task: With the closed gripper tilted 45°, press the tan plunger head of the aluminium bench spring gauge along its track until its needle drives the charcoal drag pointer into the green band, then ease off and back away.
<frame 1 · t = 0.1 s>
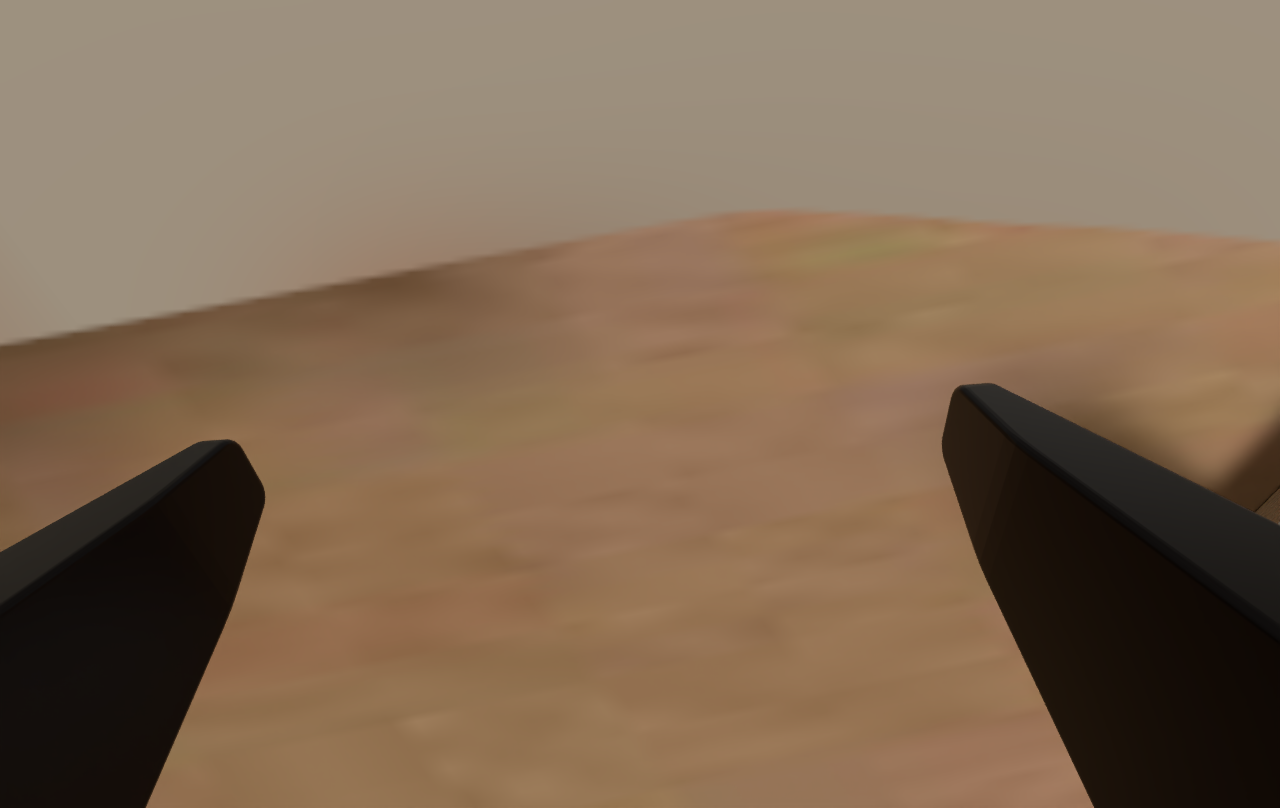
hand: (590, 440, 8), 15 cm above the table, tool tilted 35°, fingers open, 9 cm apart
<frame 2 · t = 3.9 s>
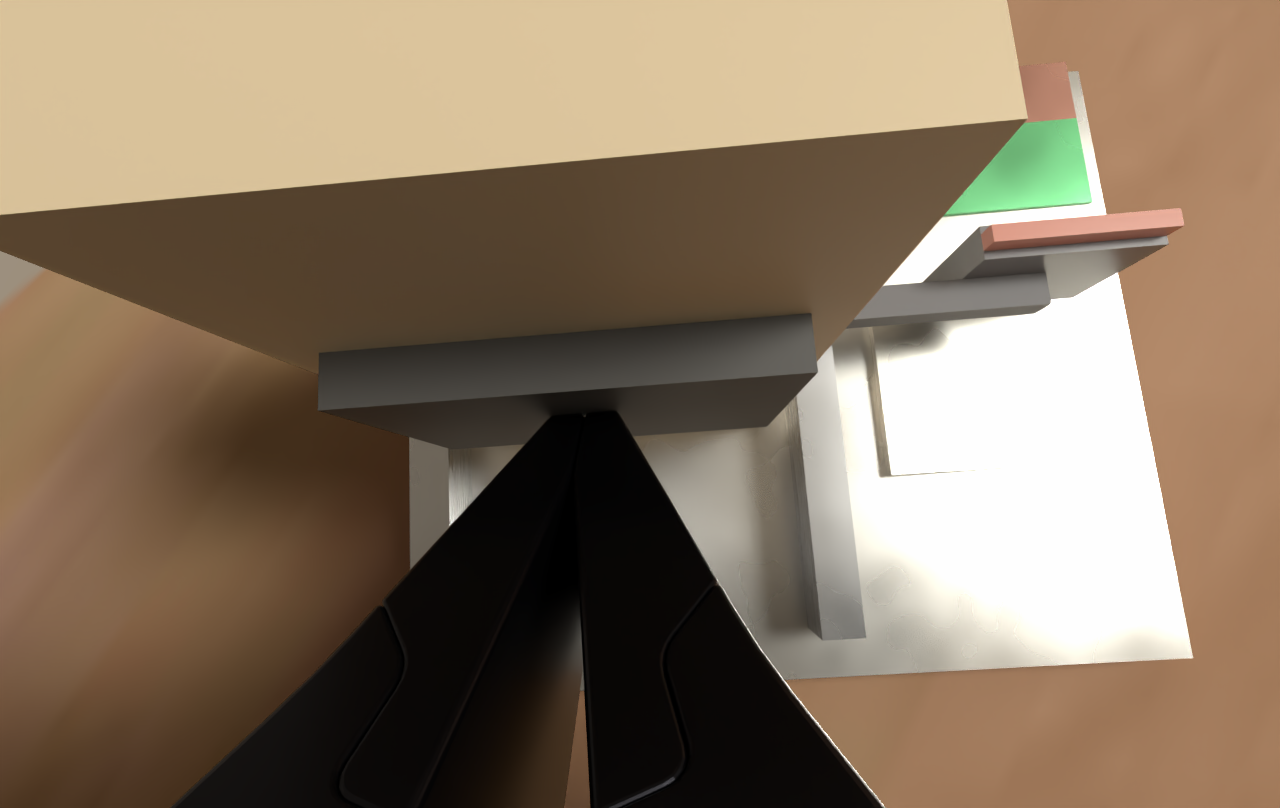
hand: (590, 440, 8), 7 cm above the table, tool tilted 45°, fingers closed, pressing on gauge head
gauge frame: (628, 410, 16), on the table
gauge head: (767, 261, 9), point 7 cm above the table, slide at 1.1 cm, touching drag pointer, gripper
drag pointer: (1036, 261, 12), point 3 cm above the table, slide at 0.6 cm, touching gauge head
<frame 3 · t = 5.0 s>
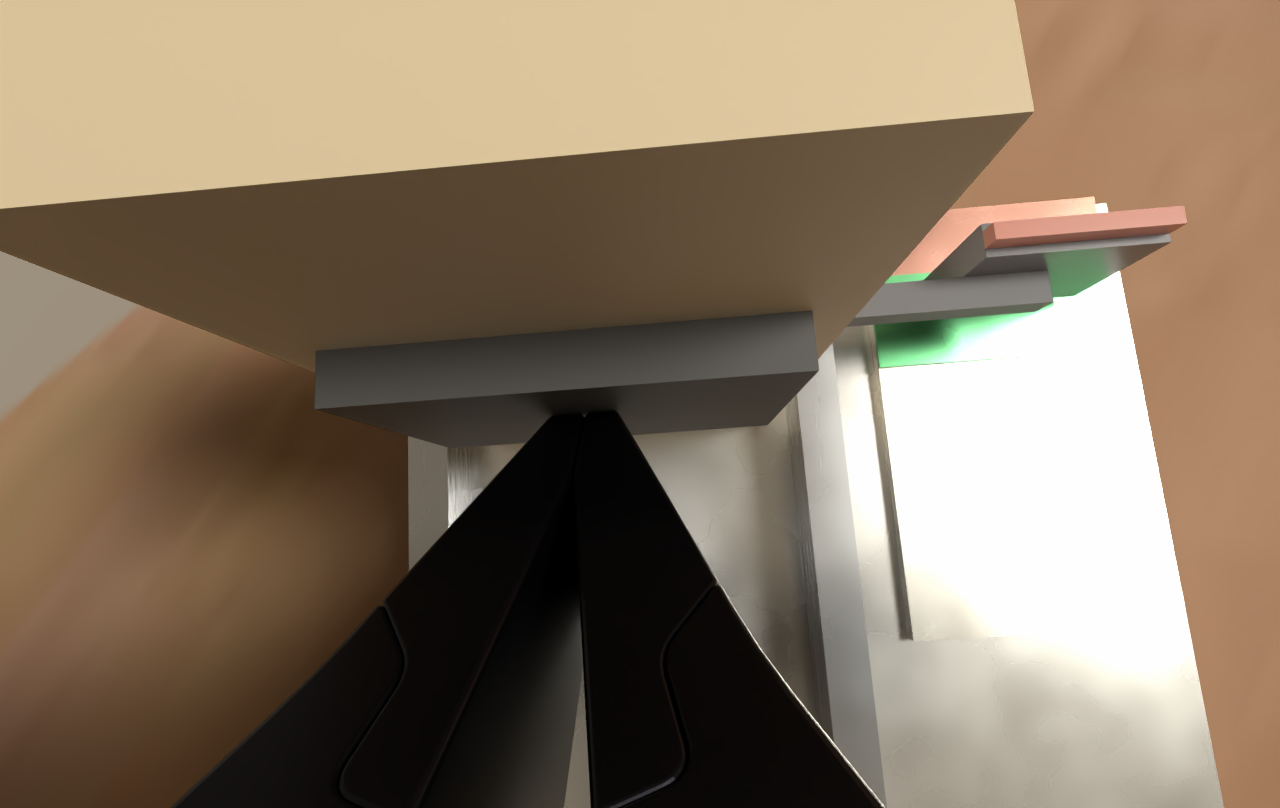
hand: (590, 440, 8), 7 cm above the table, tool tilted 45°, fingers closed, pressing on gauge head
gauge frame: (637, 553, 15), on the table
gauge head: (768, 258, 9), point 7 cm above the table, slide at 4.4 cm, touching drag pointer, gripper
drag pointer: (1037, 259, 12), point 3 cm above the table, slide at 3.9 cm, touching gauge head
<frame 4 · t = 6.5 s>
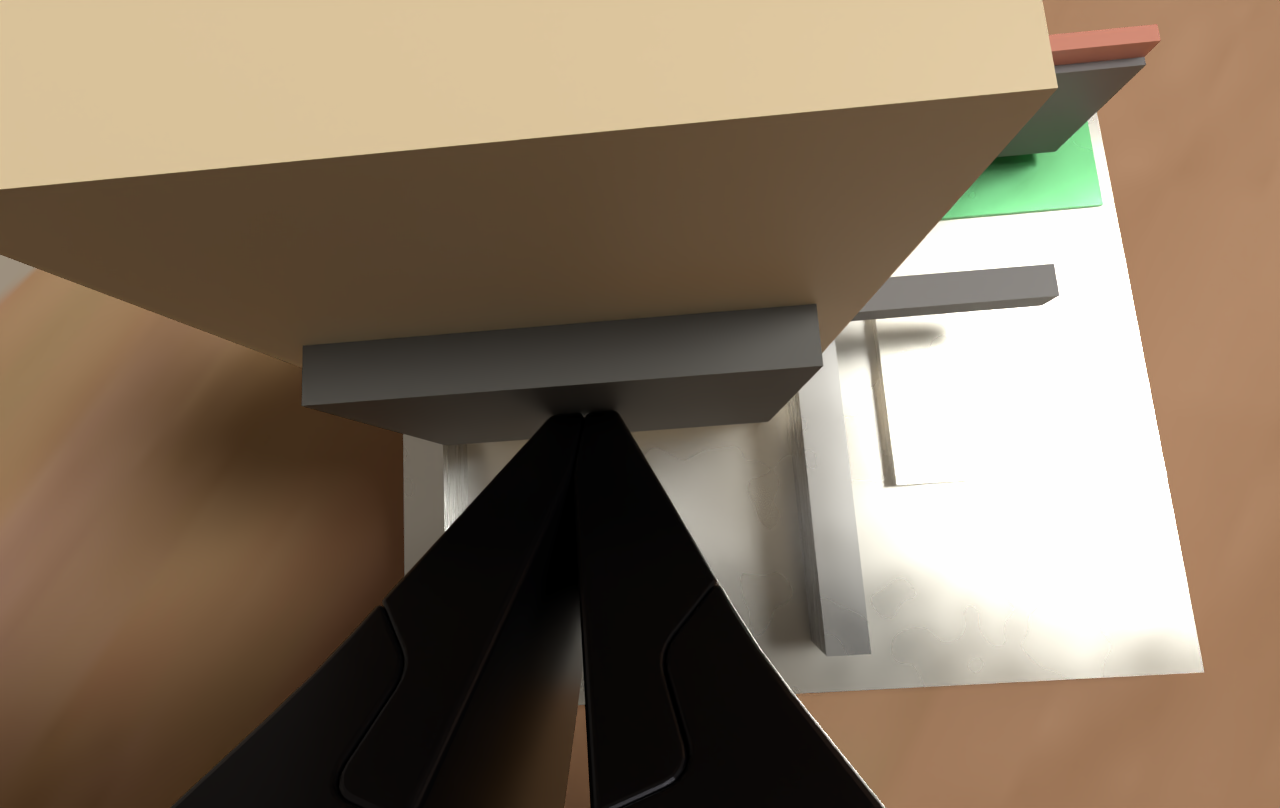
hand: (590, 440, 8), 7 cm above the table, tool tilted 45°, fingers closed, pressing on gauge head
gauge frame: (627, 417, 16), on the table
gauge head: (770, 251, 9), point 7 cm above the table, slide at 1.4 cm, touching gripper
drag pointer: (1017, 99, 13), point 3 cm above the table, slide at 3.9 cm
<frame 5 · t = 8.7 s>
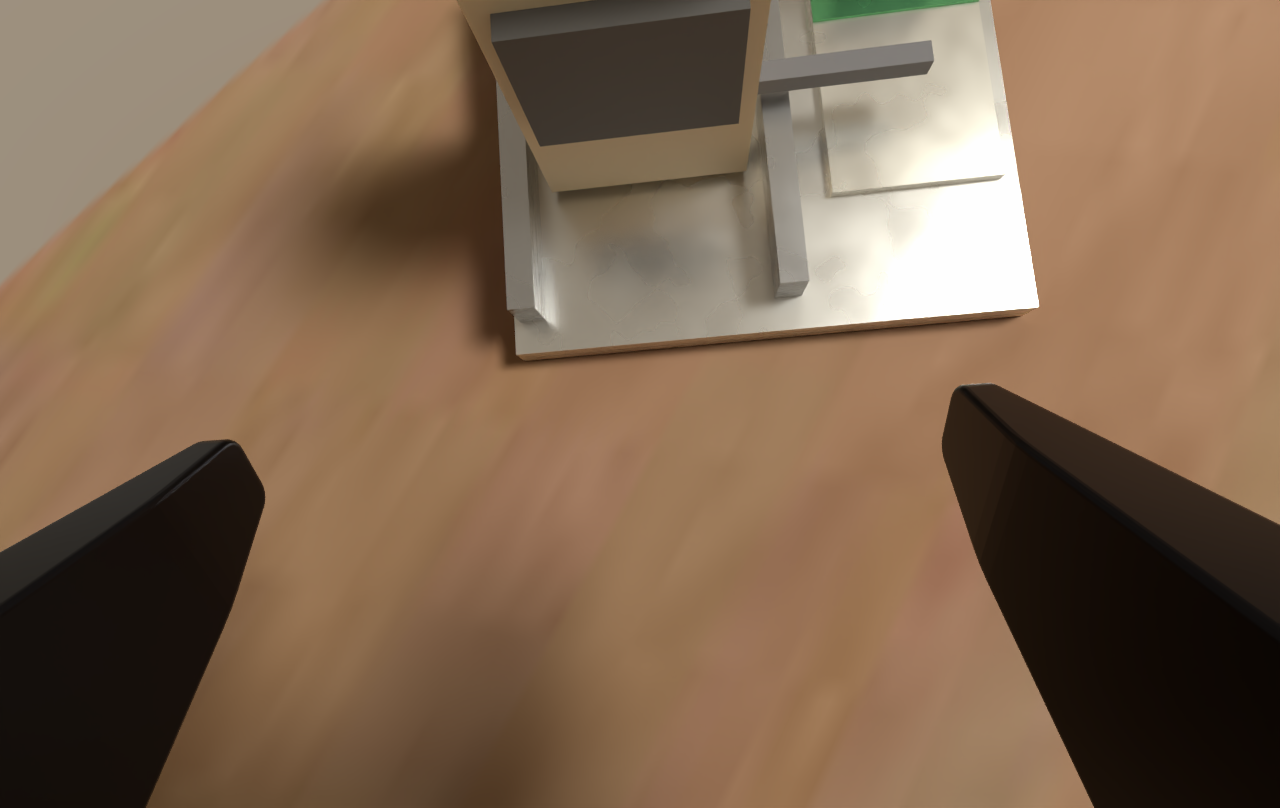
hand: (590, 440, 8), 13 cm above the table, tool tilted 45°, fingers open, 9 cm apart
gauge frame: (649, 170, 22), on the table
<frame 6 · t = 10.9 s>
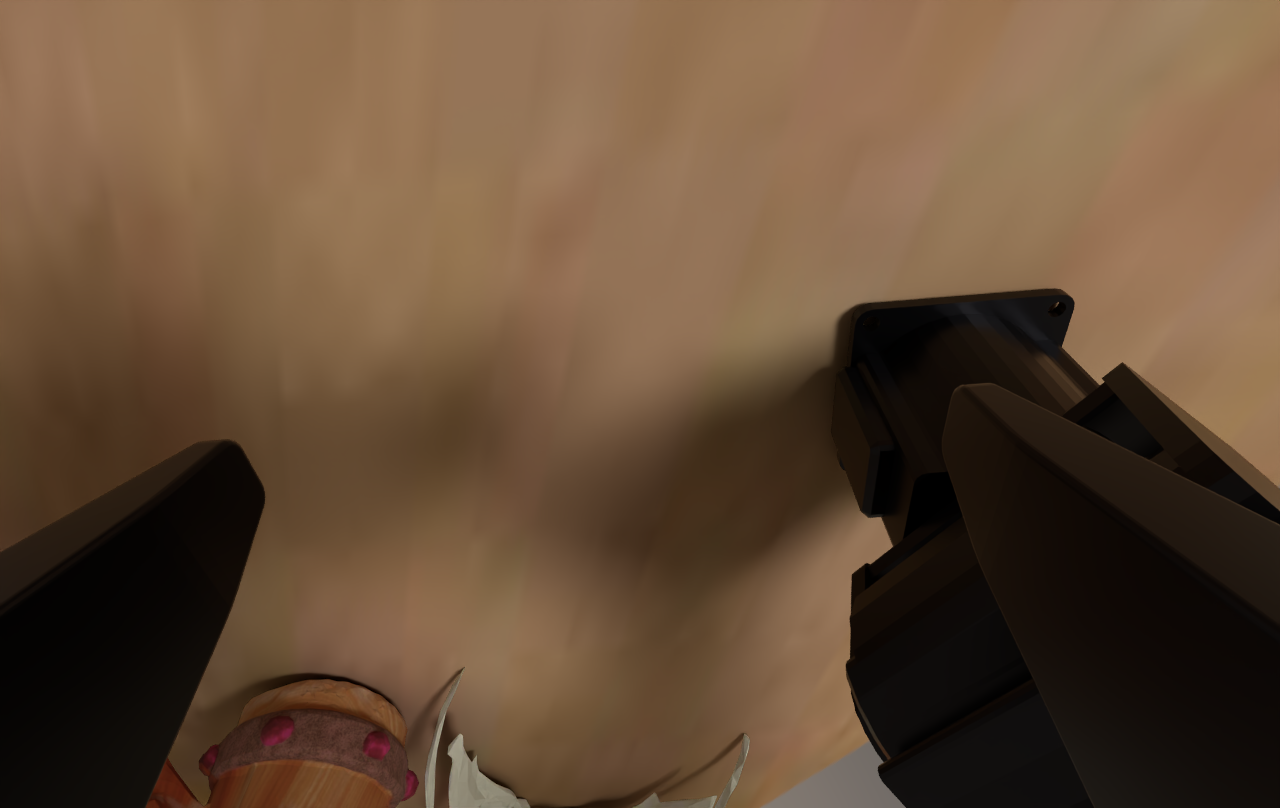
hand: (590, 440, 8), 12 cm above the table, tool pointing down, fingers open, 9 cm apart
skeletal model: (542, 797, 40), on the table
mug: (289, 689, 33), on the table
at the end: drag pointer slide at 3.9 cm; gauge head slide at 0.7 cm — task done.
